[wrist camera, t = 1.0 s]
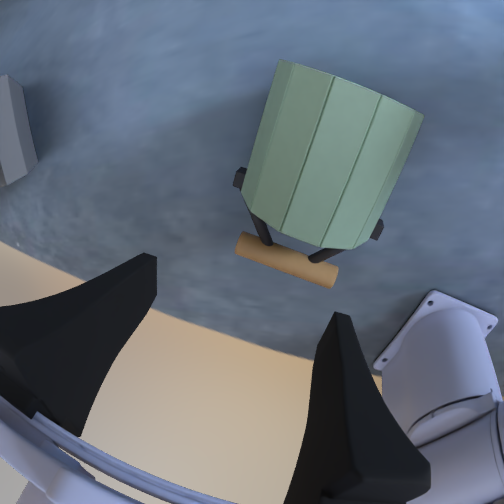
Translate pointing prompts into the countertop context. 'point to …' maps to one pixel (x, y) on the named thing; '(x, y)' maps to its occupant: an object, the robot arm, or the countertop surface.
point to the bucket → (321, 168)
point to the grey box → (14, 133)
